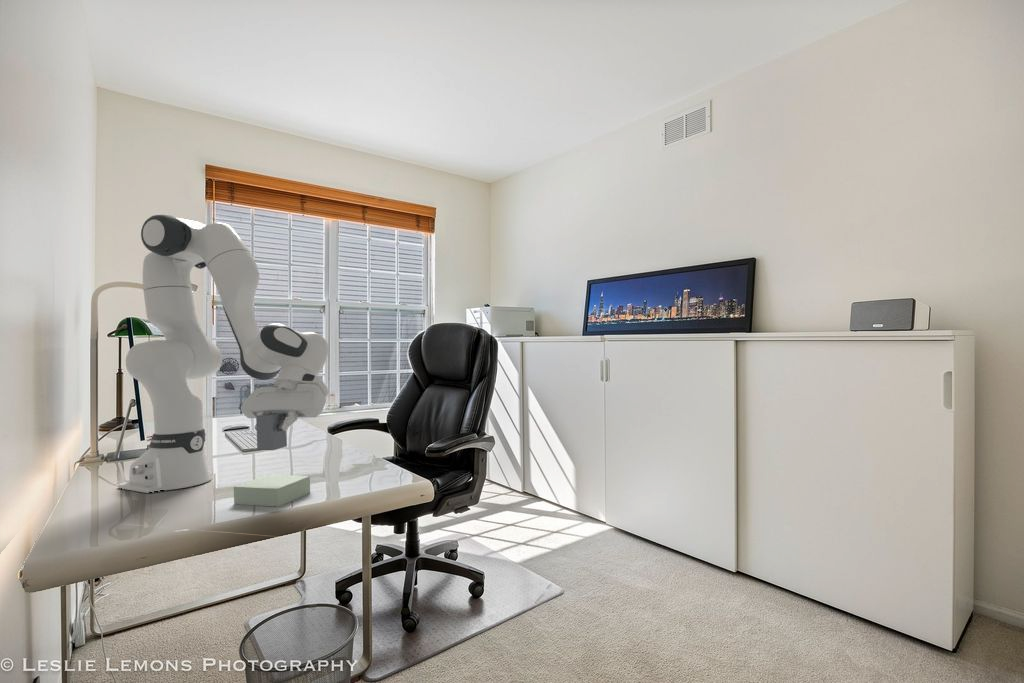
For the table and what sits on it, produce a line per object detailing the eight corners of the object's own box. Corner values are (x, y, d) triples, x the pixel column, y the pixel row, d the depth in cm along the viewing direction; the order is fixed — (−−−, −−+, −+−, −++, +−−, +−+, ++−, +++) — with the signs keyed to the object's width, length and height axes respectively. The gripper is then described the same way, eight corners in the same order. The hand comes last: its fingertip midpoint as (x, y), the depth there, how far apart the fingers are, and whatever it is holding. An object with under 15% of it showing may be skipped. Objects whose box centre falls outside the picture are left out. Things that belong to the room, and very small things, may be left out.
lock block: (257, 449, 118) (256, 415, 118) (271, 446, 122) (270, 413, 122) (273, 450, 116) (272, 415, 117) (286, 446, 121) (285, 413, 121)
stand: (234, 504, 115) (233, 486, 115) (269, 490, 126) (268, 474, 126) (278, 506, 112) (277, 488, 112) (310, 492, 123) (309, 476, 123)
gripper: (251, 378, 128) (224, 422, 118) (324, 375, 124) (302, 421, 115) (263, 394, 132) (238, 438, 123) (334, 392, 129) (314, 437, 119)
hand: (270, 430), depth 119 cm, fingers closed on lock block, 5 cm apart
